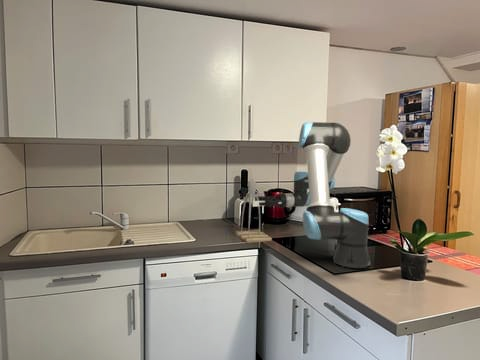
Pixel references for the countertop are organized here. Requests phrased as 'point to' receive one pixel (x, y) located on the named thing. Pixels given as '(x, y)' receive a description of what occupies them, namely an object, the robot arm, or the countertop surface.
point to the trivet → (253, 236)
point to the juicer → (251, 196)
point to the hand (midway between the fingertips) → (248, 201)
